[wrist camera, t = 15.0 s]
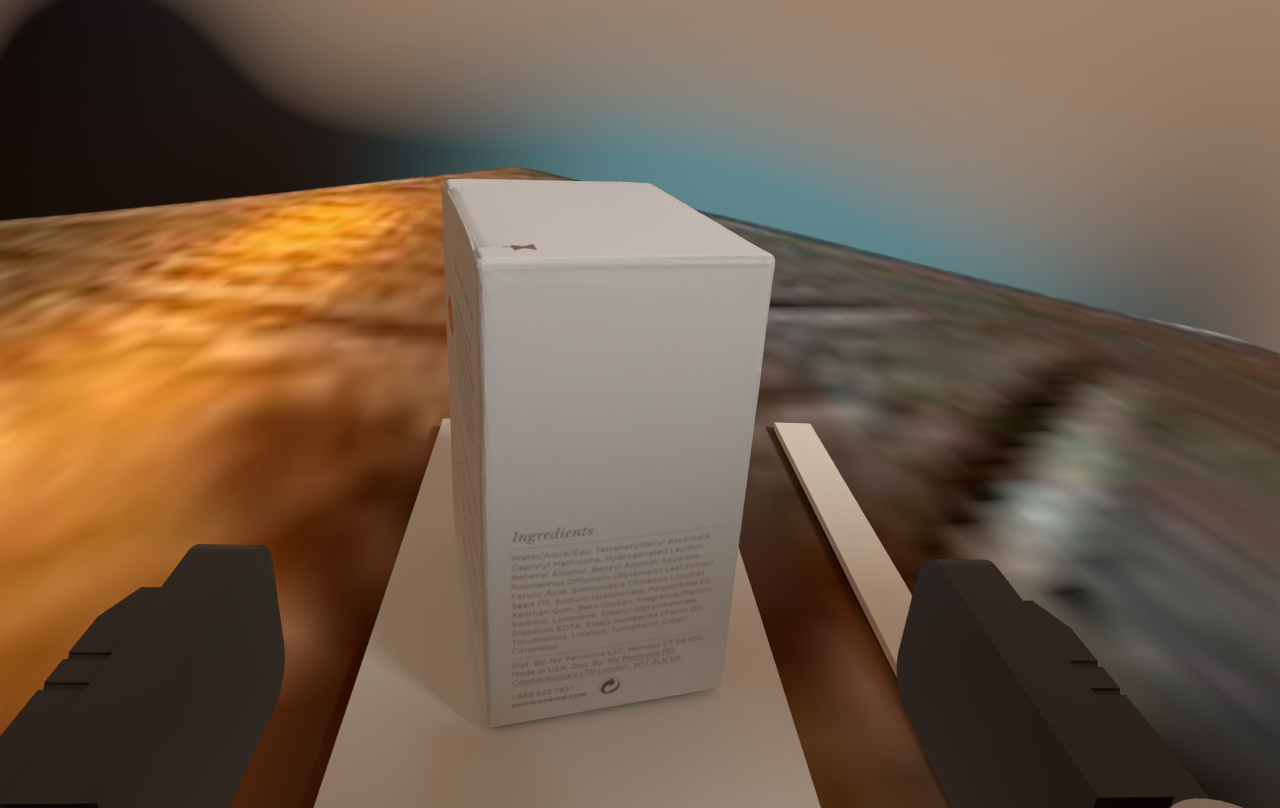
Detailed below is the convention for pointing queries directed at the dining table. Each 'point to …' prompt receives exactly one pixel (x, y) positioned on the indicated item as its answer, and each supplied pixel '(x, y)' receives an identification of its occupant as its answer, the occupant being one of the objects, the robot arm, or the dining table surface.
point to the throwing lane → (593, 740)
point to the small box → (597, 436)
